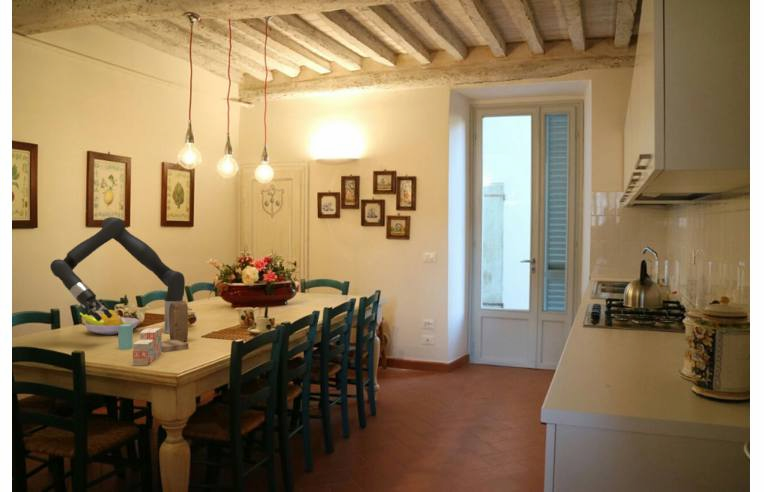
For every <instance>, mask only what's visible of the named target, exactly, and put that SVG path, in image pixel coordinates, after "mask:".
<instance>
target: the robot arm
mask: <svg viewBox="0 0 764 492" xmlns="http://www.w3.org/2000/svg"><path fill="white" fill-rule="evenodd" d="M111 240H114V241H116V242H117V243H119V244H120V245H121V246H122V248H124V249H125V250H126V251H127V253H128V254H130V255H131V256H132V257H133V258H134V259H135V260H136V261H137V262H139V263H140V264H141V265H142V266H144V267H145V268H146V269H148V270H149V271H151V273H153V275H155V276H156V277H157V278H158V279H159V280H160V281H161V283H163V284H164V286H165V287H167V293H166V294H165V295H164V323H163V324H164V333H165V334H170V328H169V308H170V304H171V302H174V301H184V300H183V299H184V295H185V286H186V282H185V280H186V279H185V276H184V274H183V273H182V272H180V271H177V270H174V269H171V268H170V267H169V266H168V265H166V264H165V263H164V262H163V261H162V260H161V257H160V256H159V255H158V253H157V252H156V251H155V250H154V249H153V248H152V247H151V246H150V245H148V244H147V243H146V242H144V241H143V240H141V239H140V238H138V237H137V236H135V235H133V234H132V233H130V231H128V230H127V229H126V223H125V221H124V220H123V219H121V218H120V217H107V218H106V217H105V218H104V219H103V220H102V222H101V229H100V230H99V231H98V232H96V233H95V234H93V235H92V236H90V237H88V238H87V239H85V240H84V241H82V242H80V243H78V244H77V245H76V246H74V247H73V248H72V249H71V250H69V251H68V252H67V254H66V257H64V258H63V259H60V258H59V259H54V260H52V261H51V262H50V271H51V273H52V274H53V276H55V277H57V279H59V280H60V281H61V282H62V284H63V285H64V287H65V288H66V289H67V290H68V291H69V293H70V294H71V295H72V296H73V297H74V299H75V300H76V301H77V302H78V303H79V304H80V305H81V306H80V308H81V309H82V310H83V311H84V313H86V314H85V315H88V316H92V317H94V318H95V319H96V320H97V321H100V320H101V319H102V317H101V316H102V315H100V314H99V313H98V312H101V313H102V314H105V315H106V316H107V317H108V318H111V317H112V314H111V313H110V312H109V311H110V310H109V309H110V306H109V305H108V304H107V303H106V302H105V301H104V300H103V299H101V298H100V299H99V300H98V299H97V298H96V297H97V294H96V293H95V292H94V291H93V289H91V288H90V287H89V286H88V285H87V284H86V283H85V282H84V281H83V280H82V279H81V277H79V275H77V274H76V273H75V272H74V271H73V270H74V269H75V268H76V267H77V266H78V264H80V263H81V262H82V261H84V260H85V259H86V258H88V257H89V256H90V255H92V253H94V252H96V251H97V250H98V249H99V248H100V247H102V246H103V245H105V244H106V243H108V242H110V241H111ZM97 311H98V312H97Z"/></svg>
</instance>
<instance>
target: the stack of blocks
mask: <svg viewBox="0 0 764 492" xmlns="http://www.w3.org/2000/svg"><path fill="white" fill-rule="evenodd" d="M162 329H163V328H162V327H146V328H144V329H143V330H142V331H140V332H139V339H138V340H137V341H135V342H134V343H133V348H132V350H133V351H132V366H149V365H148V364H151V363H152V362H154V361H155V360H156V359H157V358H159V357H160V356H161V355H162V353H163V352H161V350H162V348H161V342H163V341H162V338H163V336H162V335H163V334H162V333H163V332H162ZM155 358H156V359H155ZM154 359H155V360H154ZM153 360H154V361H153Z"/></svg>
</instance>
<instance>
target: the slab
mask: <svg viewBox="0 0 764 492" xmlns="http://www.w3.org/2000/svg"><path fill="white" fill-rule="evenodd" d="M161 348H162V350H161V352H162V353H170V352H176V351H183V350H184V351H185V350H189V343H187V342H186V341H185V342H182V341H180V340H163V341H161Z"/></svg>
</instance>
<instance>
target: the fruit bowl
mask: <svg viewBox="0 0 764 492" xmlns="http://www.w3.org/2000/svg"><path fill="white" fill-rule="evenodd" d="M108 311H109V312H110V313H111V314H112V317H111V318H108V317H107V316H106V315H105V314H104V313H102V315H100V316H101V317H102V319H101V320H100V321H97V320H96V319H95V318H94V317H93V316H91V315H89V316H88V315H87V314H83V313H82V312H79V313H78V314H79V315H80V316H81V318H82V319H83V320H84V326H85V328H86V330H88V331H90V332H93V333H95V334H98V335H108V336H112V335H113V336H114V335H117V334H118V326H120V325H123V324H130V325H133V330H134V329H135V328H136V327H137V326H138V324H139V322H140V319H138V318H136V317H135V318H134V317H120V316H118V313H117V312H115V311H114V310H108Z"/></svg>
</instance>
